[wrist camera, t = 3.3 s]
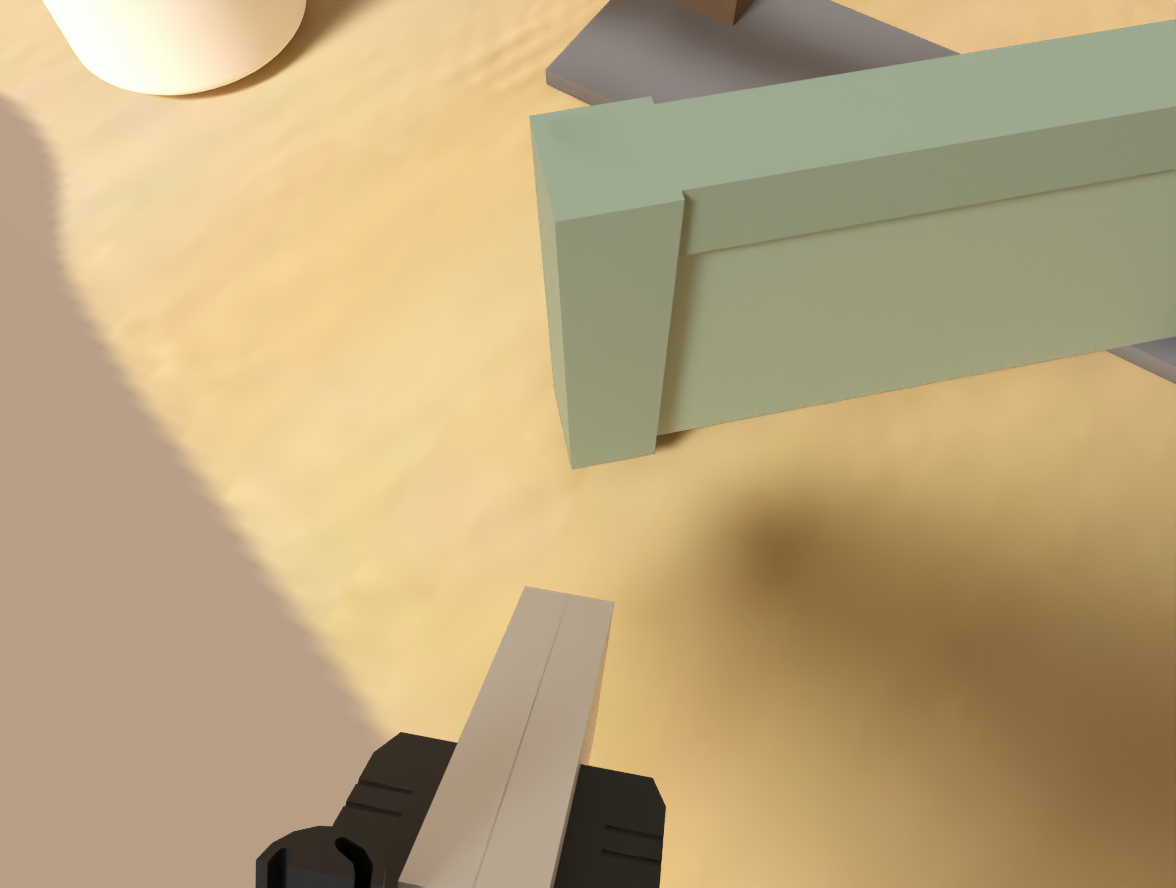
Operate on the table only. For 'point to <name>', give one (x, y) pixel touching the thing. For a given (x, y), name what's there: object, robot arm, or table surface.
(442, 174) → the table surface
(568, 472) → the table surface
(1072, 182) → the gate
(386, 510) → the table surface
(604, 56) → the gate frame
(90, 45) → the white cylinder
